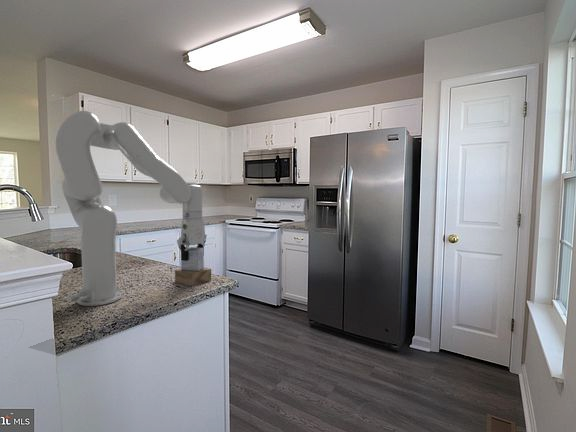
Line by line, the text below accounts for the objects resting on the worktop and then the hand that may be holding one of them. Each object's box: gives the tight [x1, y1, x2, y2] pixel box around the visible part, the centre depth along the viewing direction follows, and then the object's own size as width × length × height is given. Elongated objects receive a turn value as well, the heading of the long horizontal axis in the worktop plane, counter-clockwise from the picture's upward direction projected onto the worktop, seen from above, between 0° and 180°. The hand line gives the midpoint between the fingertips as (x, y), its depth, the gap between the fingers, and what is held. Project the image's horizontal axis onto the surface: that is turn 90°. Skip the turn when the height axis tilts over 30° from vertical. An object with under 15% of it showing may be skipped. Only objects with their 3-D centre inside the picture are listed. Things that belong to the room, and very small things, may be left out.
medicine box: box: [180, 246, 205, 271], centre depth 125 cm, size 8×4×9 cm, turn 77°
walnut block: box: [174, 266, 212, 287], centre depth 126 cm, size 10×10×5 cm
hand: (192, 258), depth 125 cm, fingers open, 9 cm apart
